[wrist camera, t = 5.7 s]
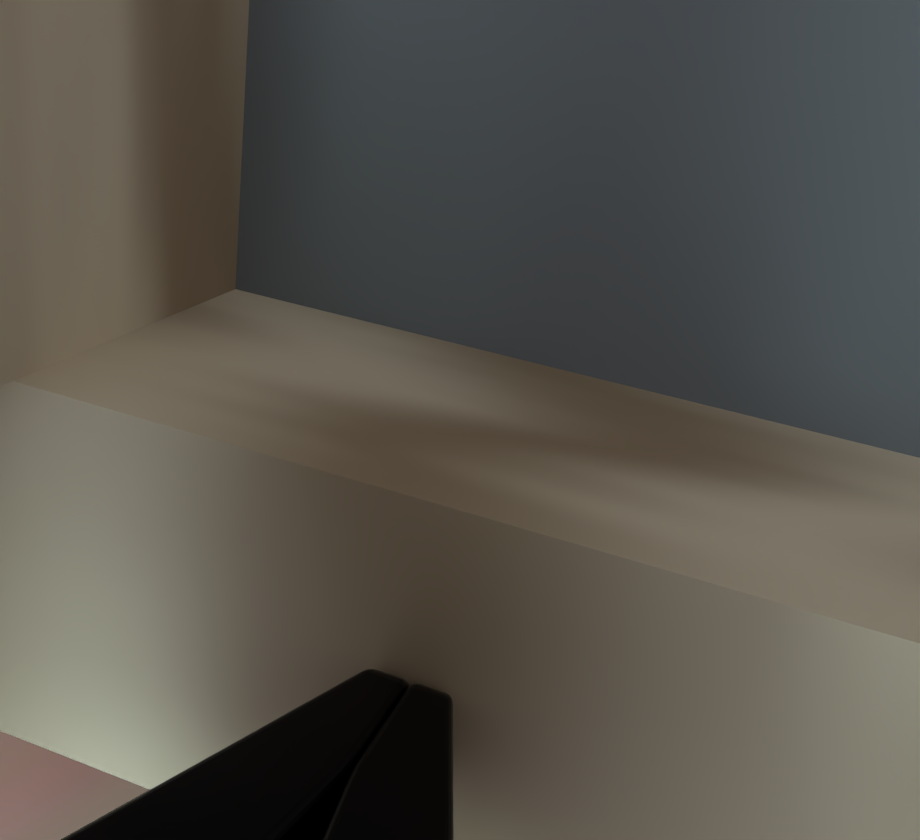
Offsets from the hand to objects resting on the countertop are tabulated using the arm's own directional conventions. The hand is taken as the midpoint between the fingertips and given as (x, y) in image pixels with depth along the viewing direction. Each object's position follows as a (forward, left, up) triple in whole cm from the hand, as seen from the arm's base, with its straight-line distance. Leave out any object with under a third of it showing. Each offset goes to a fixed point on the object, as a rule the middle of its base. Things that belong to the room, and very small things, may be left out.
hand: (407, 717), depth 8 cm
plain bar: (0, 0, -4) cm, 4 cm away
